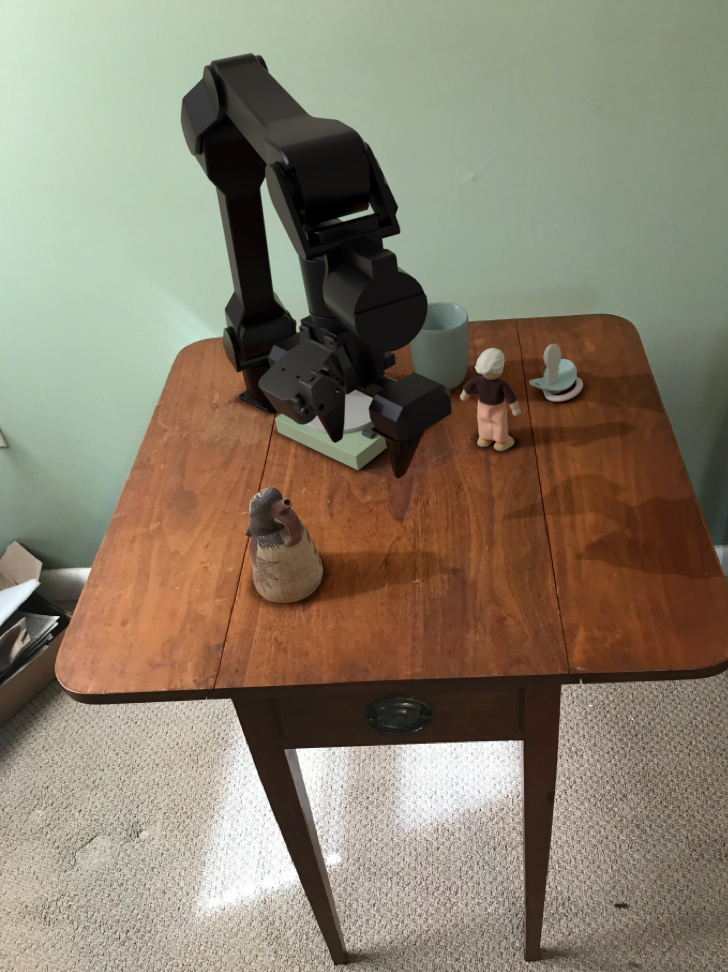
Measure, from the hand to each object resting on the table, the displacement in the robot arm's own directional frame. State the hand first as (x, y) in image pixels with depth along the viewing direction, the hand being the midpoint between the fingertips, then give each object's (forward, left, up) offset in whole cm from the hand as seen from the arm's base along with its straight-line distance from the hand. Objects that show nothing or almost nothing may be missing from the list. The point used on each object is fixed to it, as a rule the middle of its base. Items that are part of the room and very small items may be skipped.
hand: (367, 457), depth 73 cm
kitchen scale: (-18, +15, -13) cm, 27 cm away
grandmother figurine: (-1, +22, -13) cm, 26 cm away
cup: (-14, +29, -13) cm, 35 cm away
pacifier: (0, +36, -13) cm, 39 cm away
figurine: (-5, -9, -13) cm, 16 cm away
